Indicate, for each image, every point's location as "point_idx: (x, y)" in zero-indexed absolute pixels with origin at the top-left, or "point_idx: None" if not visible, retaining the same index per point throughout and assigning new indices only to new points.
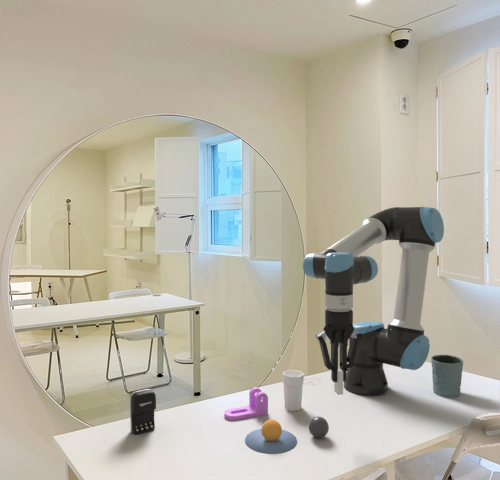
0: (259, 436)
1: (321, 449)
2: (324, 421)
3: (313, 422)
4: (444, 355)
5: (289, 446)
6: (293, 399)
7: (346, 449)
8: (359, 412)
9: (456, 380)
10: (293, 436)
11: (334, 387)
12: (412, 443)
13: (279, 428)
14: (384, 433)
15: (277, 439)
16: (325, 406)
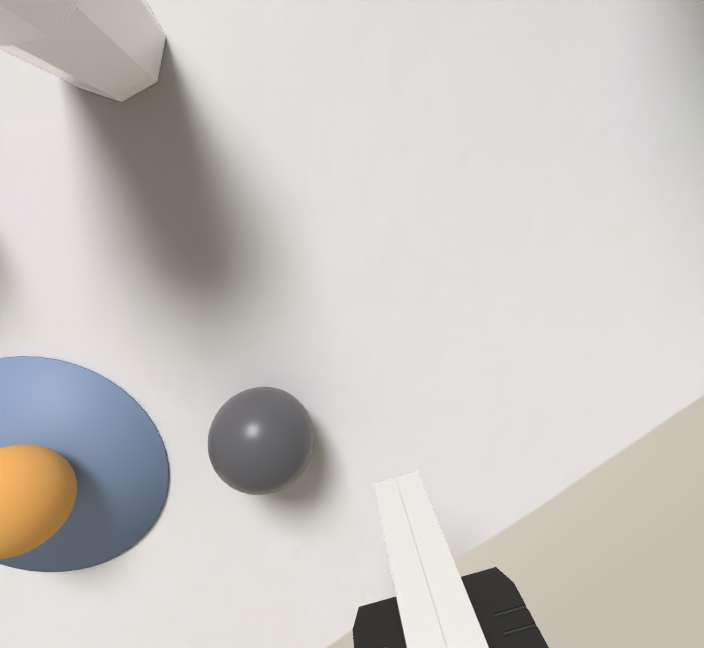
0: None
1: (276, 513)
2: (289, 477)
3: (228, 483)
4: None
5: (137, 517)
6: (74, 77)
7: None
8: (519, 105)
9: None
10: (147, 432)
11: (377, 506)
12: (646, 426)
13: (47, 534)
14: (568, 351)
15: (73, 466)
16: (328, 11)
